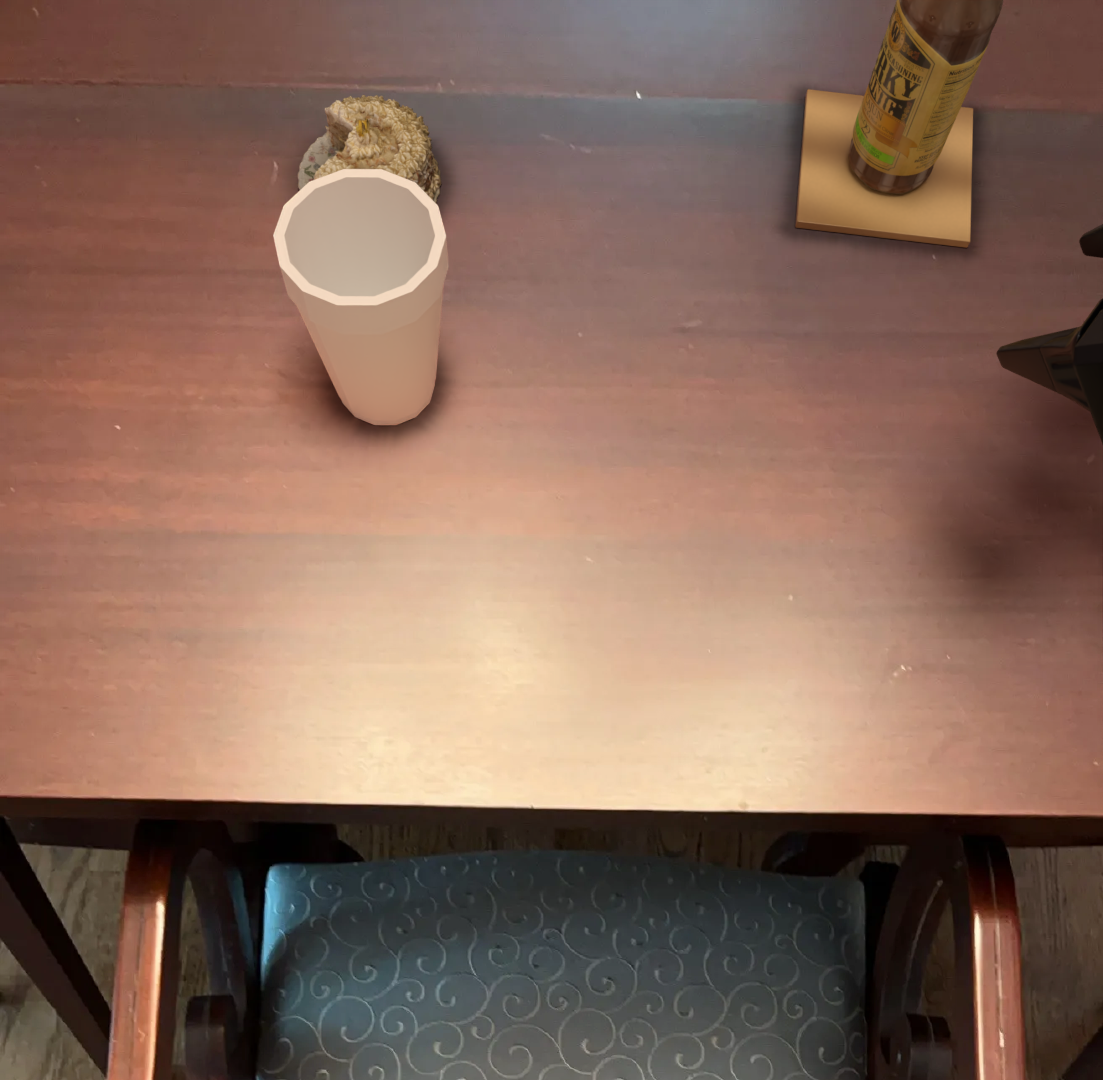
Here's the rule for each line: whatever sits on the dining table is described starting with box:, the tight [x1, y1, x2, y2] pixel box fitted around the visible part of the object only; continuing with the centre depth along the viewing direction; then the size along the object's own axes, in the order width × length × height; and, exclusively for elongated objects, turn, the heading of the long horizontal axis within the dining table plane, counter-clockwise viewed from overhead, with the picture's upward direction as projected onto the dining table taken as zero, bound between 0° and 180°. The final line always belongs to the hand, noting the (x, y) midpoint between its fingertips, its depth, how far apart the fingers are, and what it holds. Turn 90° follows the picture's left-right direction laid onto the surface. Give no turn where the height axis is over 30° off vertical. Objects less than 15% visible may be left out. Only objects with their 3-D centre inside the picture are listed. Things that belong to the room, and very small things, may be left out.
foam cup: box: [272, 169, 450, 426], centre depth 71 cm, size 10×9×13 cm
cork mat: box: [794, 88, 974, 249], centre depth 83 cm, size 12×12×1 cm
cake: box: [297, 94, 443, 204], centre depth 79 cm, size 10×10×5 cm
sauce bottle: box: [849, 0, 1004, 194], centre depth 73 cm, size 6×6×20 cm
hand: (1041, 300), depth 63 cm, fingers open, 9 cm apart
